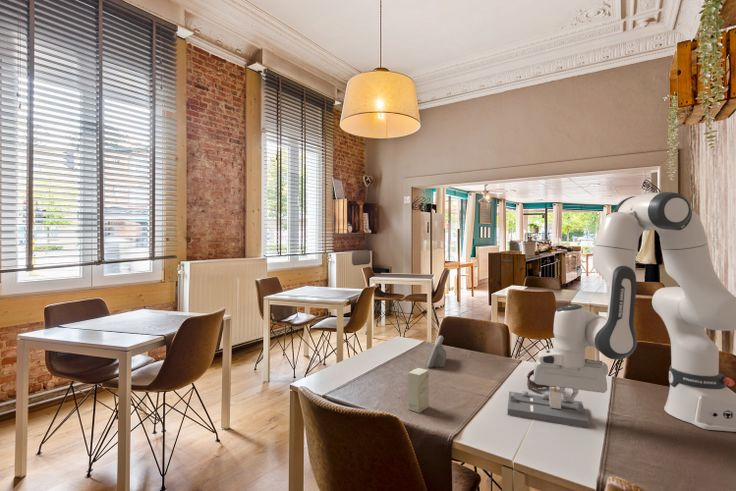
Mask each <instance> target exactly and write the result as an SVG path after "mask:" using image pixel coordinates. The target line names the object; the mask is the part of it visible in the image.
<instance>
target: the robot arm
mask: <svg viewBox="0 0 736 491" xmlns="http://www.w3.org/2000/svg"><path fill="white" fill-rule="evenodd" d="M645 231H656V233H657V234H658V236H659V242H660V250H661V254H662V260H663V266H664V270H665V272H666V273H667V275H668V276H669V277H670V278H672V279H673V280H674V281H675V282H676V283H677V285H678V286H667V287H666V286H665V287H661V288H659V289H657V290H655V292H654V294H653V296H652V299H651V305H652V308H653V310H654V312H655V313H656V314H658V316H659V317H660V319H661V320H662V322H663V323H664V325H665V327H666V330H667V333H668V336H669V339H670V356H671V357H670V359H671V364H670V365H669V371H668V381H669V391H668V396H667V398H666V402H665V405H664V408H663V409H664V411H665V413H667V414H669V415H670V416H672V417H674V418H676V419H679V420H681V421H683V422H687V423H689V424H692V425H694V426H696V427H698V428H700V429H704V430H709V431H722V432H723V431H724V432H733V433H735V432H736V392H734V391H733V390H731V389H730V388H729V387H734V385H735V384H736V383H735V381H734V380H733V379H732V378H730V377H726V376H725V375H724V374H722V373H721V372H719V371H720V370H719V369H720V367H719V364H720V363H719V362H720V360H719V359H720V358H719V357H720V350H719V348H718V346H717V344H716V343H715V342H714V341H713V340H711V338H710V337H709V336H708V335H707V334H708V333H707V332H706V331H705V329H706V330H707V329H708V330H710V331H711V330H712V331H722V332H724V331H726V332H733V331H736V296H735V295H733V294H732V293H731V292H730V291H729V290H728V289H727V288H726V287H725V285H724V284H723V282H722V281H721V280H720V278H719V276H718V275H717V272H716V271H715V268H714V265H713V261H712V258H711V253H710V248H709V247H710V246H709V244H708V243H709V242H708V237H707V234H706V231H705V227H704V225H703V223H702V220H701V218H700V215H699V214H698V213H697V212H696V211H693V210H692V206H691V204H690V202H689V200H688V199H687V198H686V197H685V196H684V195H683V194H680V193H677V192H673V191H662V192H649V193H648V192H647V193H643V194H640V195H636V196H635V195H634V196H630V197H629V196H628V197H627V198H624V199H623V200H621V201H620V202H619V203H618V204H617V205H616V207H615V208H614V210H613V212H610V213H608V214H606V215H605V216H604V217H603V218H602V220H601V222H600V224H599V228H598V230H597V234H596V236H595V241H594V247H593V252H592V266H593V268H594V271H595V272H596V273H598V275H599V276H600V277H601V278H602V279H603V280H604V282H605V283H606V285H607V288H608V305H607V314H606V317H605V316H602V315H599V314H596V313H593V312H592V311H590V310H588V309H586V308H584V306H582V305H580V304H564V305H561V306H559V307H558V308H557V309H556V310H555V312H554V317H553V336H554V342H553V347H552V348H548V349H543V350H539V351H538V353H537V358H538V359H537V360H536V361H535V363H534V367H533V370H534V376H533V377H532V378H533V380H532V381H534V382H535V383H536V384H539V385H547V386H548V387H551V386H555V387H556V388H560V391H561V396H562V397H563V400H564V402H571V403H574V401H575V398H576V397H577V395H578V394H579V391H586V392H593V393H594V392H595V393H601V394H604V393H606V392H607V391H608V382H607V375H608V373H609V366H608V364H607V363H605V362H603V361H602V360H600V359H599V360H594V359H590V358H589V359H588V358H586V348H587V347H593V348H594V349H596V350H598V351H599V352H600V353H601V354H602V355H603V356H605V357H606V358H608V359H611V360H614V361H615V360H616V361H617V360H618V361H619V360H624V359H626V358H628V357H630V356H631V355H633V353H635V352H634V351H635V350H636V348H637V344H638V339H637V335H636V330H635V324H634V323H635V322H634V321H635V310H636V296H637V276H636V275H637V274H636V261H637V260H636V259H637V256H638V255H637V254H638V249H639V240H640V237H641V235H642V234H643V232H645ZM566 389H571V390H572V394H566V392H565V391H566Z"/></svg>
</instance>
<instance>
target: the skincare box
mask: <svg viewBox="0 0 736 491" xmlns="http://www.w3.org/2000/svg"><path fill="white" fill-rule="evenodd" d="M429 374H430V372H429V370H428V369H425V368H421V367H416V368H414V369H412V370H410V371H408V372H407V385H408V386H407V387H408V388H407V392H408V394H407V395H408V396H407V397H408V399H407V400H408V401H407V402H408V405H407V407H408V408H407V409H408V410H410V411H412V412H415V413H418V414H419V413H421V412H423V411H425V410H426V409H428V408H429V406H430V400H429V398H430V392H429V390H430V389H429V387H430V385H429V378H430V377H429Z"/></svg>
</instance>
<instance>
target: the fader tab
mask: <svg viewBox="0 0 736 491" xmlns="http://www.w3.org/2000/svg"><path fill="white" fill-rule="evenodd" d="M549 397H550V407H551V408H558V409H561V399H562V393H561V391H560V387H551V386H549Z"/></svg>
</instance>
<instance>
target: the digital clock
mask: <svg viewBox="0 0 736 491" xmlns="http://www.w3.org/2000/svg"><path fill="white" fill-rule="evenodd" d="M444 339H445V338H444V336H443V335H438V336H437V339H436V340H435V342H434V344H433V347H432V349H431V352H430V354H429V357H428V360H427V361H426V367H428V369H432V368H433V367H437V366H440V368H444V367H445V365H446V363H447V351H446V349H444V348H443V341H444Z"/></svg>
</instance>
